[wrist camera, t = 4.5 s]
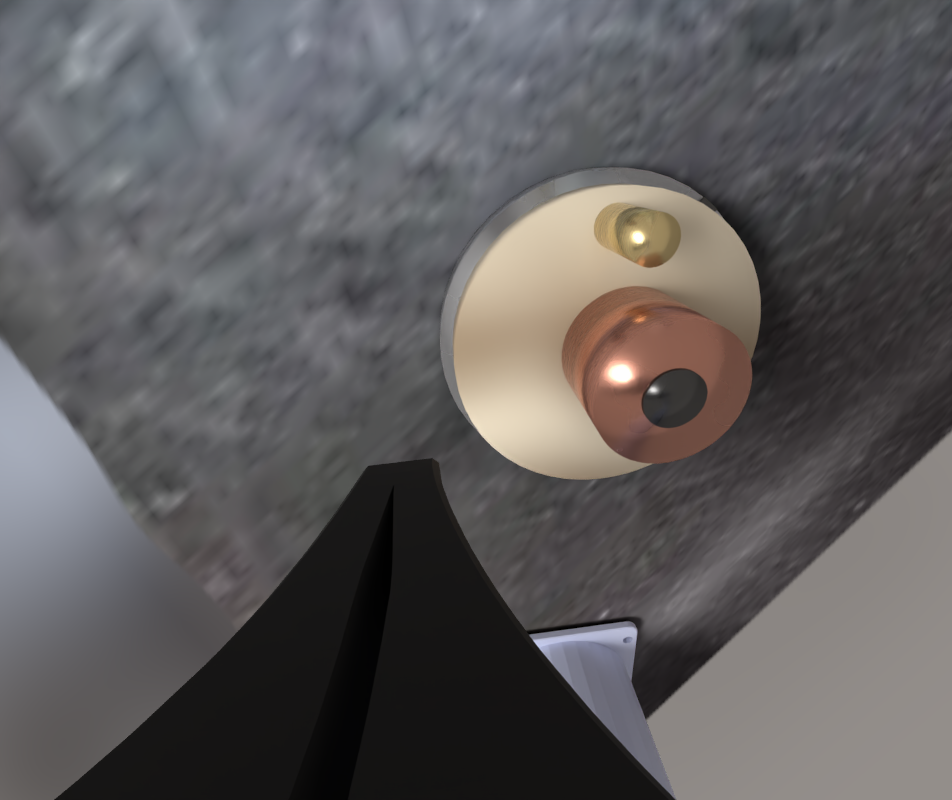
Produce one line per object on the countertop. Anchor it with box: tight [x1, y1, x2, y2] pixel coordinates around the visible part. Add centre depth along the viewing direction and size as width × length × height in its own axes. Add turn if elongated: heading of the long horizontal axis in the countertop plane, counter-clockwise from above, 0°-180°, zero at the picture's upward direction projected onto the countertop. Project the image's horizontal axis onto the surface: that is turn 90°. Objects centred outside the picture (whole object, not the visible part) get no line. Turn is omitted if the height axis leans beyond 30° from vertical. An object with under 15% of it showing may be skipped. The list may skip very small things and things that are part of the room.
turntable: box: [453, 183, 761, 480], centre depth 14 cm, size 10×10×4 cm
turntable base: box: [440, 167, 723, 432], centre depth 16 cm, size 10×10×1 cm
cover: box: [561, 286, 752, 464], centre depth 13 cm, size 4×4×3 cm
